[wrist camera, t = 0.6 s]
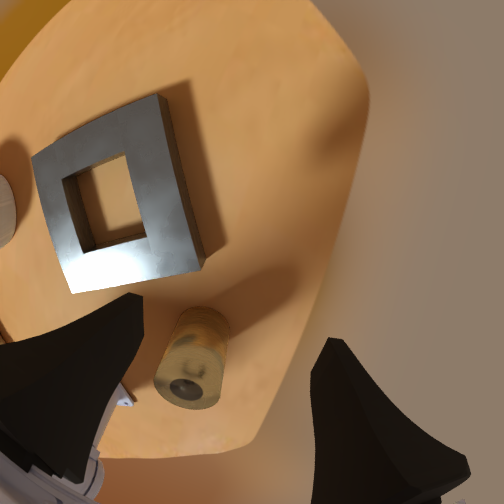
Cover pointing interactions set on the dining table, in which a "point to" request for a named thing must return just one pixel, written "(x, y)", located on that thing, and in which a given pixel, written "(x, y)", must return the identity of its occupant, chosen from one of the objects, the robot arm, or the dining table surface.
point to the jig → (146, 191)
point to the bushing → (194, 360)
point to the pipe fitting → (2, 341)
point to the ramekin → (6, 212)
